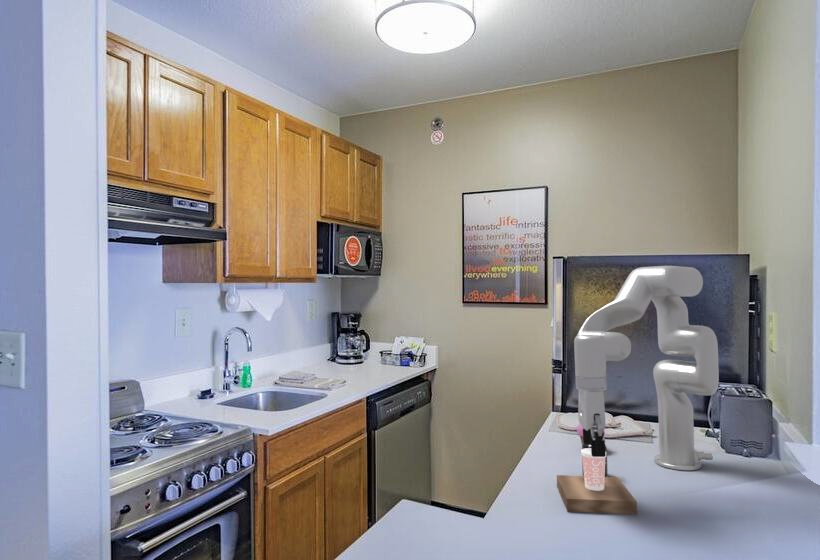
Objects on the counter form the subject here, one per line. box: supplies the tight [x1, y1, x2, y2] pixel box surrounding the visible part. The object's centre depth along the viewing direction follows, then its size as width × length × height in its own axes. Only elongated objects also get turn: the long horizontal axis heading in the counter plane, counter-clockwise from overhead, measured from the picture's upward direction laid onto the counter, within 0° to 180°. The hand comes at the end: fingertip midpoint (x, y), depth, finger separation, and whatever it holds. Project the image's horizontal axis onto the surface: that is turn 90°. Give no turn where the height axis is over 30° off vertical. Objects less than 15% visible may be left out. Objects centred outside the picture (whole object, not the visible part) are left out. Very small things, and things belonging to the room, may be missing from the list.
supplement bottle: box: [581, 443, 609, 477], centre depth 142 cm, size 7×7×12 cm
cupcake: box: [576, 422, 605, 445], centre depth 165 cm, size 9×9×10 cm
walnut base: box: [556, 474, 638, 515], centre depth 126 cm, size 16×16×3 cm
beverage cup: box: [580, 448, 606, 491], centre depth 126 cm, size 6×6×14 cm
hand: (593, 449), depth 126 cm, fingers open, 9 cm apart
